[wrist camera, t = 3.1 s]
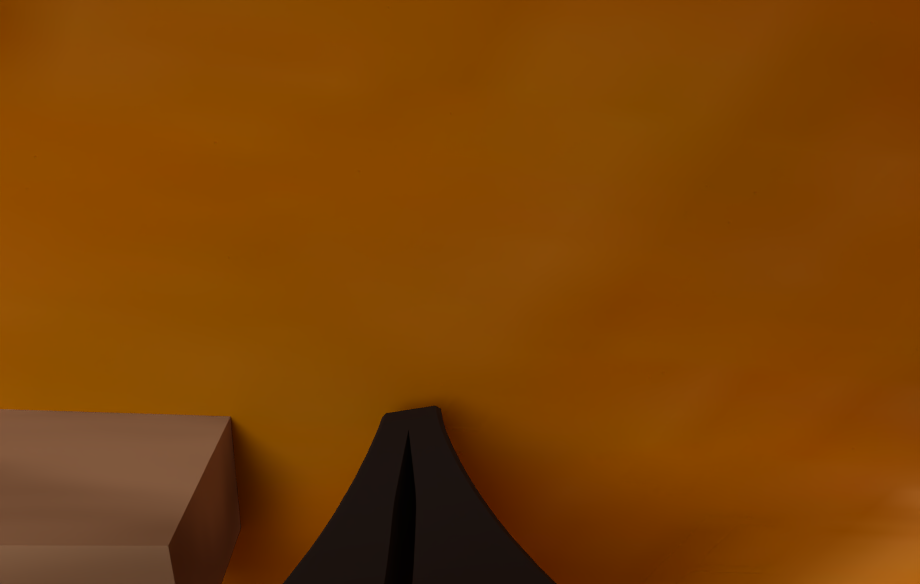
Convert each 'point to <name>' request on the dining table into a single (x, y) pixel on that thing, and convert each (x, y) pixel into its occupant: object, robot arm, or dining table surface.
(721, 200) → the dining table surface
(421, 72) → the dining table surface
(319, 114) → the dining table surface
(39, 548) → the rail
